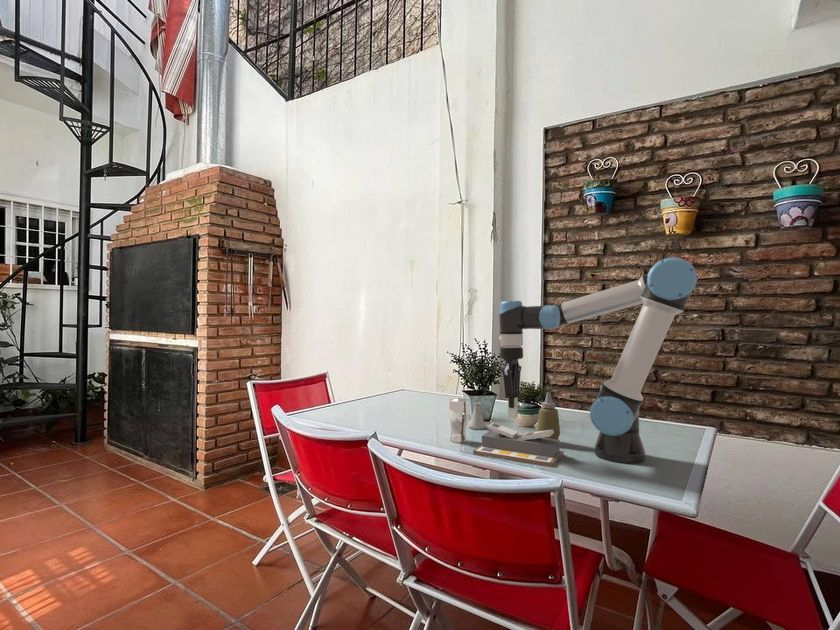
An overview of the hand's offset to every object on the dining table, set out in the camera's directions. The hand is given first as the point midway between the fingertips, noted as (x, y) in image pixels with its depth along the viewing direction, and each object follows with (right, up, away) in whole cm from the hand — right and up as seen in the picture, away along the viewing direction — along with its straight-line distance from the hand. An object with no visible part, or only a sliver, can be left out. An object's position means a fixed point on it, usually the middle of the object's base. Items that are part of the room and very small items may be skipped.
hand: (512, 417), depth 154 cm
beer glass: (-17, -12, +13) cm, 25 cm away
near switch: (+7, -5, -4) cm, 10 cm away
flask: (-8, -12, +33) cm, 36 cm away
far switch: (-3, -5, +2) cm, 6 cm away
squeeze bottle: (+15, -12, +11) cm, 22 cm away
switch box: (+1, -12, -3) cm, 12 cm away
